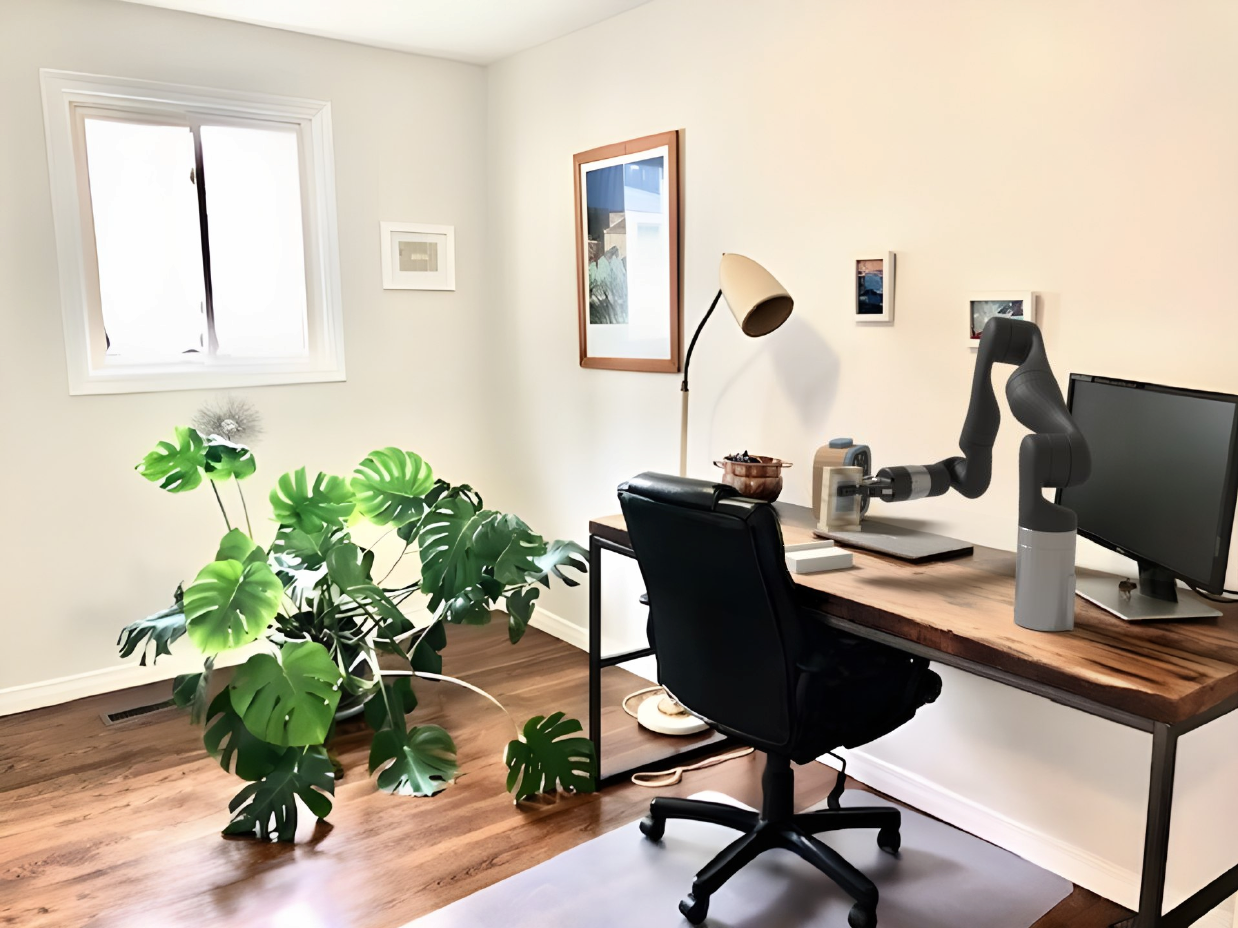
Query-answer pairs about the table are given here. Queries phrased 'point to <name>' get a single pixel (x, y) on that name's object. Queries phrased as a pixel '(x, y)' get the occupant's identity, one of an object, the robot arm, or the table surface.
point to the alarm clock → (839, 455)
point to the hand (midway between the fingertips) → (833, 490)
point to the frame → (839, 500)
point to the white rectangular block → (816, 557)
